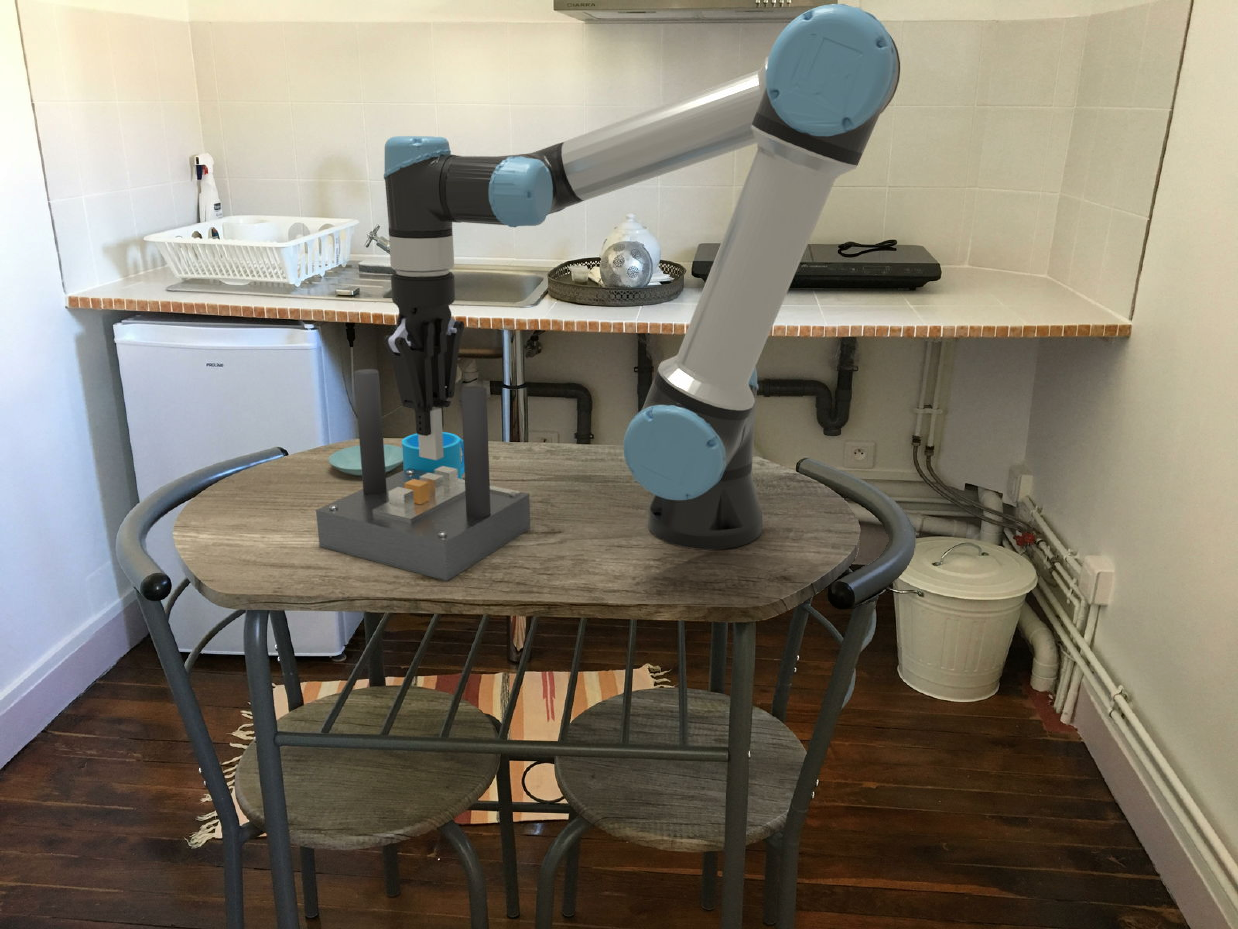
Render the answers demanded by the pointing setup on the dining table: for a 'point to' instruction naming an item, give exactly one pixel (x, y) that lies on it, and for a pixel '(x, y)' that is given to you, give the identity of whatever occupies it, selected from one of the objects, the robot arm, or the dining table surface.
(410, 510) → the breaker panel
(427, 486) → the orange cube
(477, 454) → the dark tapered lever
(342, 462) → the saucer
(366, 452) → the dark grey upright post
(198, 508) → the dining table surface
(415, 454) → the mug
